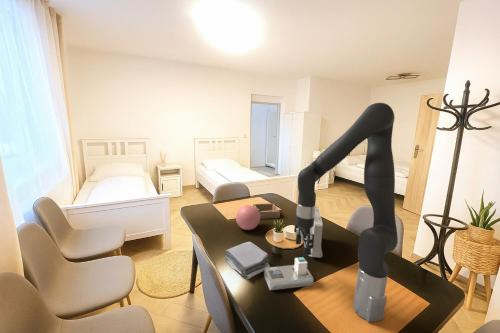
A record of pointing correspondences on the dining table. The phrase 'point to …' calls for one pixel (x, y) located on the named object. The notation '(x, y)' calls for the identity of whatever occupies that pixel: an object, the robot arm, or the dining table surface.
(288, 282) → the patch panel
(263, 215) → the coaster tray
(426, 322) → the dining table surface
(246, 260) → the towel
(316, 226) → the network device
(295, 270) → the plug
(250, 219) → the pink rubber ball
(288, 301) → the dining table surface
